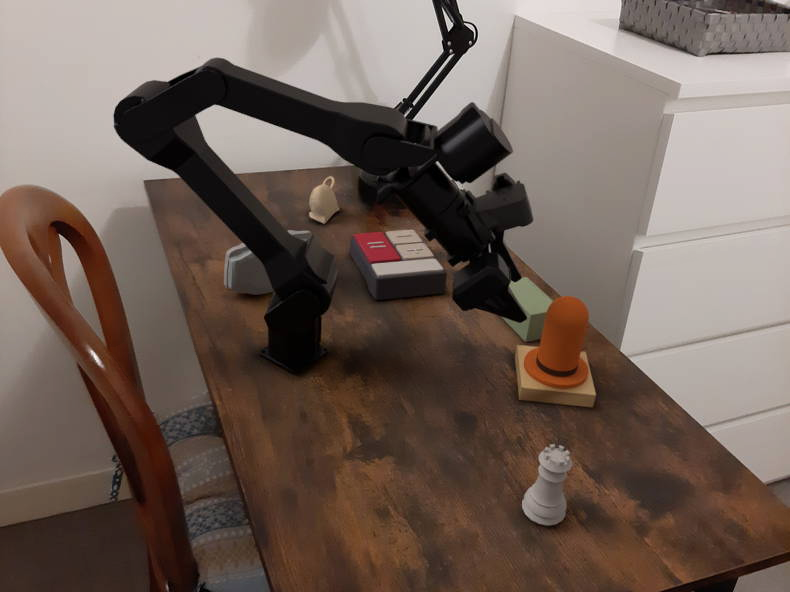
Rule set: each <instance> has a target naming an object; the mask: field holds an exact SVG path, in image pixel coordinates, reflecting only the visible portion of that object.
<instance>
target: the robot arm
mask: <svg viewBox="0 0 790 592" xmlns="http://www.w3.org/2000/svg"><path fill="white" fill-rule="evenodd" d="M213 106H219V107H222V108H224V109H227V110H230V111H232V112H236V113H239V114H241V115H245V116H247V117H250V118H252V119H255V120H259V121H261V122H264V123H267V124H270V125H273V126H275V127H277V128H281V129H284V130H287V131H289V132H292V133H295V134H298V135H301V136H303V137H307V138H309V139H311V140H314V141H317V142H319V143H321V144H323V145H324V146H327V147H328V148H329V149H331V151H333V152H334V153H335V154H336V155H337V156H339V157H340V158H341V159H342V160H344V161H345V162H347V163H349V164H351V165H353V166H354V167H357V168H358V169H360V170H362V171H364V172H366V173H368V174H370V175H373V176H376V180H375V182H376V187H377V194H376V200H375V202H376V204H378V205H382V204H384V203H385V202H386V201H388V200H389V199H390V198H392V197H393V196H394V195H395V197H396V198H397V199H398V200H399V202H401V204H403V205H404V207H405V208H406V209H407V210H408V211H409V212H410V213H411V215H412V216H413V217H414V218H415V219H416V220H417V221H418V222H419V223H420V224H421V226H423V228H424V233H423V237H424V238H426V240H427V241H428V242H429V243H430V242H432V241H433V240H435V241H436V242H437V244H439V246H440V247H441V248H442V249H443V250H444V252H446V255H447V256H446V262H447V263H448V264H449V265H450V266H451V267H452V268H454V267H455V266H457V265H458V264H459V263H461V262H462V263H467V262H468V264H466V265H465V266H463V267H462V268H460V269H459V270H457V271H456V272H454V273H453V276H452V277H453V278H452V286H451V288H452V292H451V301H452V302H454V303H455V305H457V306H458V308H459V309H460V310H461V311H462V312H468V311H472V310H474V309H476V310H479V311H483V312H486V313H490V314H492V315H496V316H499V317H501V318H502V317H504V318H507V319H509V320H512V321H515V322H518V323H522V322H523V321H525V320H526V319H527V315H526V314H525V312H524V310H523V308H522V307H521V305H520V303H519V302H518V300H517V299H516V297H515V295H514V294H513V292H512V290H511V289H510V287H509V284H510V283H511V281H513V282H517V281H519V280H520V279H521V278H523V277H522V274H521V273H520V270H519V269H518V266H517V264H516V262H515V260H514V258H513V256H512V254H511V252H510V249H509V248H508V246H507V243H506V242H505V239H504V237H505V232H506V231H508V230H510V229H514V228H518V227H521V228H525V227H527V226H529V225H531V224H532V223H533V222H534V215H533V211H532V206H531V202H530V199H529V196H528V193H527V190H526V185H525V184H524V183H521V181H520V180H516V181H515V180H514V179H513V178H512V177H511V176H510V175H509V174H508V173H507V172H501V173H499V174H495V175H494V176H493V179H492V184H491V191H490V190H489V189H487V190H485V193H484V194H482V195H479V196H475V195H474V194H473V193H472V191H471V190H470V189H469V190H467V189H466V188H464V189H462V190H461V189H460V188H458V186H457V185H456V184H455V182H456V183H457V182H458V183H460V184H461V185H464V184H465V183H468V184H472V183H474V182H475V181H476V180H477V179H479V178H480V177H481V176H483V175H485V174H486V173H487V172H489V171H490V170H491V169H493V168H494V167H496V166H497V165H498V164H499V163H501V162H502V161H504V160H505V159H506V158H508V157H509V156H510V155H512V154H513V153H514V148H513V146H512V144H511V143H510V141H509V139H508V137H507V135H506V134H505V132H504V131H503V130H502V128H501V126H500V125H499V124H498V123H497V121H496V120H495V118H493V117H490V116H489V115H488V114H487V113H486V112H485V111H484V110H482V109H480V108H479V107H478V106H477V104H476V103H475V102H474V101H471V102H469V103H468V104H467V105H466V106H464V107H463V108H462V109H461V110H460V111H459V113H458V114H457V115H455V116H454V117H453V118H452V119H451V120H449V121H448V122H447V123H446V124H445V125H443V126H441V127H440V128H438V126H437V125H434V124H430V123H426V122H421V121H418V120H414V119H409V118H406V116H405V114H403V113H402V112H400V110H398V109H396V108H394V107H390V106H386V105H380V104H375V103H369V102H364V101H363V102H362V101H361V102H360V101H354V102H353V101H338V100H333V99H330V98H327V97H325V96H322V95H319V94H316V93H314V92H310V91H308V90H305V89H302V88H300V87H297V86H294V85H291V84H289V83H286V82H283V81H280V80H278V79H275V78H273V77H269V76H266V75H264V74H261V73H258V72H256V71H254V70H250V69H248V68H245V67H242V66H239V65H236V64H234V63H232V62H231V61H230V60H227V59H226V58H224V57H223V58H222V57H213V58H210V59H208V60H207V61H205V62H204V63H203V64H202V65H199V66H197V67H196V68H192V69H190V70H188V71H186V72H183V73H182V74H179V75H177V76H175V77H173V78H172V79H170V80H168V81H166V80H156V79H152V80H148V81H145V82H143V83H142V84H140V85H139V86H138V87H136V88H135V89H134V90H132V91H131V92H130V93H129V94H128V95H126V96H124V97H123V98H122V99H121V100H120V101H119V102H118V103H117V104H116V106H115V107H114V111H113V115H112V116H113V128H114V131H115V133H116V134H117V136H118V137H119V138H120V139H121V140H122V141H123V143H125V144H126V145H128V146H129V147H130V148H131V149H132V150H134V151H135V152H137V154H139V155H140V156H142V158H144V159H145V160H147V161H149V162H151V163H153V164H155V165H158V166H159V167H162V168H165V169H167V170H170V171H171V172H174V173H175V174H176V175H177V176H178V177H179V178H180V179H181V180H182V181H183V182H184V183H185V184H186V185H187V186H188V187H189V189H190V190H192V192H193V193H194V194H195V195H197V197H198V198H199V199H200V200H201V201H202V202H203V203H204V205H206V206H207V207H208V209H210V211H212V213H213V214H215V216H217V218H218V219H219V220H220V221H221V222H222V223H223V224H224V225H225V226H226V227H227V228H228V229H229V230H230V231H231V232H232V233H233V234H234V235H235V237H237V239H238V240H240V242H242V243H243V244H244V245H245V246H246V247H247V248H248V249H249V250H250V251H251V252H252V253H253V254H254V255H255V256H256V257H257V258H258V259H259V260H260V261H261V263H262V264H263V266H264V268H265V270H266V273H267V275H268V278H269V281H270V283H271V286H272V288H273V290H274V292H272V293H273V294H272V296H271V299H270V300H269V303H268V306H267V308H266V311H265V313H264V315H263V319H264V322H265V324H266V326H267V342H268V345H267V346H266V347H264V348H262V349H261V350H259V356H261V357H262V358H263V359H266V360H267V361H269V362H270V363H272V364H274V365H276V366H278V367H280V368H281V369H283V370H285V371H287V372H289V373H291V374H293V375H299V374H300V373H302V372H304V371H305V370H307V369H308V368H309V367H311V366H313V365H314V364H315V363H316V362H318V361H320V360H321V359H322V358H324V357H326V356H327V355H329V353H330V349H329V348H328V347H326V346H324V345H322V344H321V343H322V326H323V325H322V323H323V322H322V321H323V320H322V319H323V318H322V317H323V316H324V315H325V314H326V313H327V312H328V310H329V308H330V307H331V304H332V300H333V298H334V294H335V290H336V288H337V287H336V286H337V282H338V279H339V278H338V277H339V276H338V275H339V273H338V272H339V269H338V267H337V264H336V263H335V262H334V261H335V258H336V255H335V254H333V253H331V252H330V251H328V250H327V249H326V248H325V247H324V246H323V245H322V242H321V241H320V240H319V238H318V237H317V236H316V235H315V234H313V235H311V236H310V237H309V238H308V239H307V240H306V241H304V240H302V239H299V238H297V237H295V236H293V235H291V234H290V233H289V232H288V231H289V230H287V229H286V228H285V227H284V226H283V225H282V223H281V222H280V221H279V220H278V219H277V218H276V217H275V216H274V215H273V213H271V211H269V209H268V208H267V207H266V206H265V205H264V204H263V203H262V202H261V201H260V200H259V198H258V197H257V196H256V195H255V194H254V193H253V191H251V190H250V188H248V186H246V184H245V183H244V182H243V181H242V180H241V179H240V178H239V177H238V175H237V174H236V173H234V171H233V170H232V169H231V168H230V167H229V166H228V165H227V164H226V163H225V162H224V160H223V159H222V158H221V157H220V156H219V155H218V154H217V153H216V152H215V151H214V150H213V148H212V147H211V146H210V145H209V144H208V142H207V140H206V138H205V135H204V134H203V130H202V128H201V125H200V123H199V120H198V118H197V115H198V114H200V113H202V112H203V111H205V110H207V109H209V108H211V107H213ZM437 162H438V163H437ZM453 181H455V182H453Z"/></svg>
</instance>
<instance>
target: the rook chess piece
mask: <svg viewBox="0 0 790 592" xmlns="http://www.w3.org/2000/svg"><path fill="white" fill-rule="evenodd" d="M548 446H549V447H548ZM548 446H545V448H544V450H541V452H540V453H539V455H538V462H539V463H540V464H539V466H538V469H537V470H538V476H537V478H536V481H535V482H534V484H532V485H531V486H530V487H529V488H528V489H527V491H526V492H525V493H524V495H523V499H522V501H521V509H522V511H523V513H524V514H525V515H526V517H527V518H528V519H529V520H530V521H531V522H533V523H535V524H537V525H539V526H543V527H545V526H546V527H549V526H555V525H558V524H559V523H561V522H563V520H564V518H565V517H566V515H567V514H566V510H567V499H566V498H565V497H566V496H565V493H564V491H563V487H564V481H565V480H566V479H567V477H568V471H570V470H571V469H572V467H573V460H572V458H571V456H570V455H571V452H570V451H569V449H566V450H565V446H562V445H561V444H559V446H558V447H556V445H555V444H554V443H553V444H549V445H548Z"/></svg>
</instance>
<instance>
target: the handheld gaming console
mask: <svg viewBox="0 0 790 592" xmlns="http://www.w3.org/2000/svg"><path fill="white" fill-rule="evenodd" d="M287 231H288V232H289V233H290V234H291V235H293V236H295V237H297V238H299V239H302V240H304V241H306V240H307V239H308V238H309V237H310V236H311V235H314V234H313V233H312V232H311V231H310V230H308V229H307V230H292V229H290V230H287ZM223 267H224V268H223V284H224V287H225V288H226V289H227V290H228V291H229V292H230V291H232V292H234V293H235V294H236V293H237V294H250V295H254V296H257V295H264V294H269V293H274V290H273V288H272V286H271V283H270V281H269V278H268V275H267V273H266V270H265V268H264V266H263V264H262V263H261V261H260V260H259V259H258V258H257V257H256V256H255V255H254V254H253V253H252V252H251V251H250V250H249V249H248V248H247V247H246V246H245V245H244V244H243V243H240V244H238V245H235V246H233V247H231V248H229V249H228V250H226V252H225V258H224V266H223Z"/></svg>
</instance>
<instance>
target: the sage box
mask: <svg viewBox="0 0 790 592" xmlns="http://www.w3.org/2000/svg"><path fill="white" fill-rule="evenodd" d="M509 287H510V289H511V290H512V292H513V294H514V295H515V297H516V299H517V300H518V302H519V303H520V305H521V307H522V308H523V310H524V312H525V314H526V315H527V319H526V320H525V321H523V322H522V323H518V322H515V321H512V320H509V319H507V318H504V317H501V318H502V320H504V321H505V323H506V324H508V326H509V327H510V328H511V329H512V330H513V331H514V332H515V333H516V334H517V335H518V336H519V337H520V338H521V339H522V340H523V341H524V342H525V343H529V342H533V341H538V340H541V337H542V332H543V328H544V323H545V318H546V313H547V310H548V307H549V306H550V304H551V303H552V302H553V301H554V300H553V299H552V298H550V296H548V294H546V293H545V292H544V291H543V290H542V289H541V288H540V287H539V286H537V285H536V284H535V283H534V282H533V281H532V280H531V279H530V278H529V277H527V276H526V277H525V276H524V277H522V278H521V279H520V280H519V281H517V282H513V281H511V283H510V284H509Z"/></svg>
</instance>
